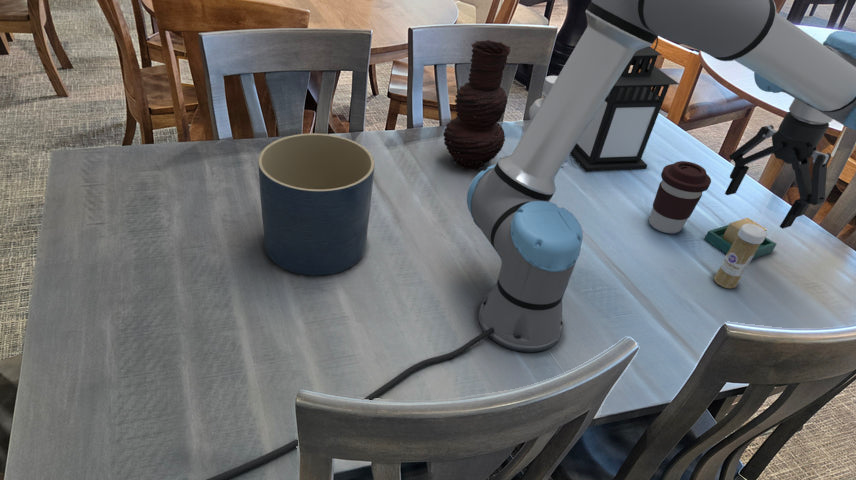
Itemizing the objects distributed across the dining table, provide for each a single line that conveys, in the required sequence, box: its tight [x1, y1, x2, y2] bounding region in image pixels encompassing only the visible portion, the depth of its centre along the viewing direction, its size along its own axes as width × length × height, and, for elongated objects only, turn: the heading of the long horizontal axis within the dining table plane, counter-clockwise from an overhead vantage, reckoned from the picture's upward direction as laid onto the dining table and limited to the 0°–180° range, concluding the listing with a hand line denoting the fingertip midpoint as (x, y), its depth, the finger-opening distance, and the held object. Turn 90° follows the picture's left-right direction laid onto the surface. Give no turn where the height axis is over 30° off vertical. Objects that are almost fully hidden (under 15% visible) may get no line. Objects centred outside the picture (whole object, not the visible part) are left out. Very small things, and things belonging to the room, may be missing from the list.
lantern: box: [569, 36, 680, 173], centre depth 160 cm, size 17×17×35 cm
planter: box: [257, 132, 375, 277], centre depth 127 cm, size 22×22×20 cm
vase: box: [442, 39, 511, 171], centre depth 154 cm, size 15×15×30 cm
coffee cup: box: [648, 160, 712, 234], centre depth 141 cm, size 10×10×15 cm
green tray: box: [704, 224, 778, 260], centre depth 140 cm, size 11×10×2 cm
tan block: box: [722, 217, 768, 245], centre depth 139 cm, size 6×5×4 cm
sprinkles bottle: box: [713, 224, 768, 289], centre depth 126 cm, size 5×5×13 cm
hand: (756, 209), depth 135 cm, fingers open, 13 cm apart
